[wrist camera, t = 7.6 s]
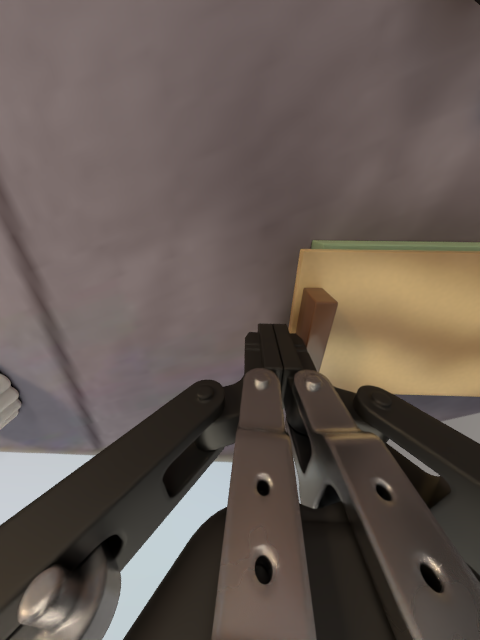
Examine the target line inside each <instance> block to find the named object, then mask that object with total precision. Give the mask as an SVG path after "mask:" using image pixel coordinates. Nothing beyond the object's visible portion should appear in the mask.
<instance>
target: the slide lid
mask: <svg viewBox="0 0 480 640" xmlns="http://www.w3.org/2000/svg"><path fill="white" fill-rule="evenodd" d="M288 330H289V333H296V334H297V335H298V336H299V337H300V338H302V340H303V342H304V344H305V347H306V348H307V351H308V353H309V355H310V357H311V359H312V361H313V363H314V366H315V368H316V370H317V372H319V373H321V374H323V375H324V376H326V377H327V378H328V379H329V380H330V382H331V384H332V385H333V386H334V387H337V388H340V389H344V390H347V391H351V392H354V393H357V391H358V389H359V388H360V387H361V386H365V385H371V386H376V387H379V388H382V389H384V390H386V391H388V392H390V393H392V394H405V395H441V396H476V397H480V251H421V250H342V249H301V250H300V255H299V262H298V268H297V275H296V282H295V288H294V295H293V301H292V308H291V314H290V321H289V328H288Z"/></svg>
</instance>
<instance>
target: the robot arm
mask: <svg viewBox="0 0 480 640" xmlns="http://www.w3.org/2000/svg"><path fill="white" fill-rule="evenodd" d="M283 409H285V411H286V420H285V423H284V414H283ZM285 428H286V430H285ZM286 431H287V432H286ZM389 439H391V440H392V441H393V442H395V443H396V444H398V445H399V446H400V447H402V448H403V449H405V450H406V451H407V452H409V453H410V454H411V455H413V456H414V457H416V458H417V459H418V460H420V461H421V462H423V463H424V464H425V465H427V466H428V467H430V468H431V469H432V470H434V471H435V472H436V473H438V474H439V475H440V476H439V477H437V476H433V475H430V474H428V473H426V472H424V471H423V470H421V469H420V468H419V467H418V466H416V465H415V464H414V463H412V462H411V461H410V460H408V459H407V458H406V457H404V456H403V455H402V454H400V453H399V452H398V451H396V450H395V449H393V448H392V447H391V446H389V445H388V444H387V443H386V442H387V441H388V440H389ZM234 443H235V447H234V455H233V463H232V472H231V480H230V488H229V497H228V505H227V507H226V508H224V509H222V510H220V511H218V512H217V513H215V514H214V515H213V516H211V517H210V518H209V519H208V520H207V521H206V522H205V523H203V524H202V525H201V526H200V528H199V529H198V530H197V531H196V532H195V534H194V535H193V536H192V537H191V539H190V540H189V542H188V543H187V544H186V546H185V547H184V549H183V551H182V552H181V553H180V555H179V557H178V558H177V559H176V561H175V562H174V564H173V566H172V567H171V569H170V570H169V571H168V573H167V574H166V576H165V577H164V579H163V580H162V582H161V583H160V585H159V586H158V588H157V589H156V591H155V592H154V594H153V595H152V597H151V598H150V600H149V602H148V603H147V604H146V606H145V607H144V609H143V610H142V612H141V613H140V615H139V616H138V618H137V619H136V621H135V622H134V624H133V625H132V627H131V628H130V630H129V631H128V633H127V634H126V636H125V637H124V639H123V640H480V444H479V443H477V442H475V441H473V440H472V439H470V438H468V437H467V436H465V435H463V434H461V433H460V432H458V431H456V430H454V429H453V428H451V427H449V426H447V425H446V424H444V423H442V422H440V421H439V420H437V419H435V418H433V417H432V416H430V415H428V414H426V413H425V412H423V411H421V410H419V409H418V408H416V407H414V406H413V405H411V404H409V403H407V402H406V401H404V400H402V399H400V398H399V397H397V396H395V395H393V394H392V393H390V392H388V391H386V390H384V389H382V388H379V387H376V386H371V385H365V386H361V387H360V388H359V389H358V391H357V393H354V392H351V391H347V390H344V389H340V388H337V387H334V386H333V385H332V384H331V382H330V380H329V379H328V378H327V377H326V376H324V375H323V374H321V373H319V372H317V370H316V368H315V366H314V363H313V361H312V359H311V357H310V355H309V353H308V351H307V348H306V347H305V344H304V342H303V340H302V338H300V337H299V336H298V335H297V334H296V333H289V330H288V328H287V325H286V324H258V332H249V333H248V334H247V336H246V337H245V367H244V376H243V378H242V379H241V380H240V381H239V382H237V383H235V384H233V385H229V386H225V387H222V385H221V384H220V383H218V382H216V381H214V380H201V381H198V382H196V383H194V384H193V385H191V386H190V387H189V388H187V389H186V390H184V391H183V392H182V393H180V394H179V395H178V396H176V397H175V398H174V399H172V400H171V401H169V402H168V403H167V404H165V405H164V406H163V407H161V408H160V409H159V410H157V411H156V412H154V413H153V414H152V415H150V416H149V417H148V418H146V419H145V420H144V421H142V422H141V423H139V424H138V425H137V426H135V427H134V428H133V429H131V430H130V431H129V432H127V433H126V434H124V435H123V436H122V437H120V438H119V439H118V440H116V441H115V442H113V443H112V444H111V445H109V446H108V447H107V448H105V449H104V450H103V451H101V452H100V453H98V454H97V455H96V456H94V457H93V458H92V459H90V460H89V461H88V462H86V463H85V464H84V465H82V466H81V467H79V468H78V469H77V470H75V471H74V472H73V473H71V474H70V475H68V476H67V477H66V478H64V479H63V480H62V481H60V482H59V483H58V484H56V485H55V486H53V487H52V488H51V489H49V490H48V491H47V492H46V493H44V494H43V495H41V496H40V497H39V498H37V499H36V500H34V501H33V502H32V503H30V504H29V505H28V506H26V507H25V508H23V509H22V510H21V511H19V512H18V513H17V514H15V515H14V516H13V517H11V518H10V519H8V520H7V521H6V522H5V523H3V524H2V525H0V640H102V638H103V637H104V635H105V633H106V631H107V629H108V628H109V626H110V623H111V621H112V618H113V616H114V614H115V611H116V608H117V604H118V600H119V596H120V589H121V575H120V572H121V570H122V569H123V568H124V567H125V565H126V564H127V563H128V562H129V561H130V559H132V557H133V556H134V555H135V554H136V553H137V551H138V550H139V549H140V548H141V547H142V545H143V544H144V543H145V542H146V541H147V540H148V538H149V537H150V536H151V535H152V534H153V532H154V531H155V530H156V529H157V528H158V526H159V525H160V524H161V523H162V522H163V521H164V519H165V518H166V517H167V516H168V515H169V513H170V512H171V511H172V510H173V508H174V507H175V506H176V505H177V504H178V503H179V501H180V500H181V499H182V498H183V497H184V495H185V494H186V493H187V492H188V491H189V490H190V488H191V487H192V486H193V485H194V484H195V483H196V481H197V480H198V479H199V478H200V477H201V475H202V474H203V473H204V472H205V471H206V469H207V468H208V467H209V466H210V464H212V462H213V461H214V460H215V459H216V458H217V456H218V455H219V454H220V453H221V452H222V450H223V449H224V447H225V446H228V445H231V444H234ZM293 458H294V461H295V465H296V468H297V472H298V477H299V491H300V499H301V504H300V503H299V499H298V492H297V484H296V476H295V468H294V461H293Z"/></svg>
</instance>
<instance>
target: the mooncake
mask: <svg viewBox="0 0 480 640" xmlns="http://www.w3.org/2000/svg"><path fill="white" fill-rule="evenodd" d="M18 397H19V393H18V391H17V390H16V389H15V388H13V387H11V382H10V380H9V379H8V378H7V377H6V376H4V375H2V374H0V430H1V429H2V428H3V427H4V426H5V425H6V424H8V423H9V422H10V421H11V420H12V419H13V418H15V417H16V416H17V415H18V413H19V411H18V409H19V408H20V407H21V402H20V400H19V399H18Z"/></svg>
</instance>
